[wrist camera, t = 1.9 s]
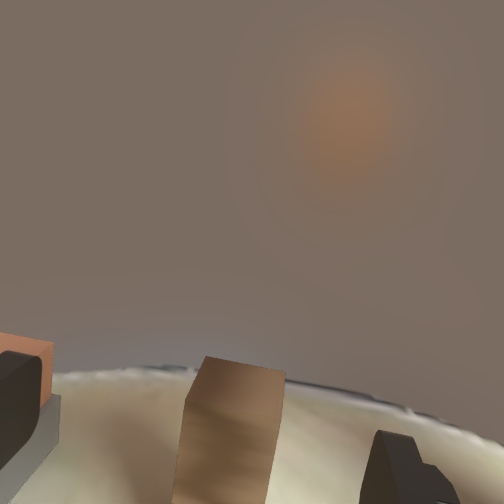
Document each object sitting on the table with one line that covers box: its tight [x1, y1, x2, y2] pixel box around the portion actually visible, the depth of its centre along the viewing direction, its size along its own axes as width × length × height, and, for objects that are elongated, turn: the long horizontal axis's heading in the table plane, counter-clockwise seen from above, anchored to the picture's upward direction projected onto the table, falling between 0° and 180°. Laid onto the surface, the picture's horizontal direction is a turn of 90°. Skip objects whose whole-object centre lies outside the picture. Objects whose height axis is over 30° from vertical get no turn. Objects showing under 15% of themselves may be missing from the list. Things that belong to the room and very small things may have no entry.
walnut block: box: [171, 356, 285, 504], centre depth 25 cm, size 5×5×10 cm
